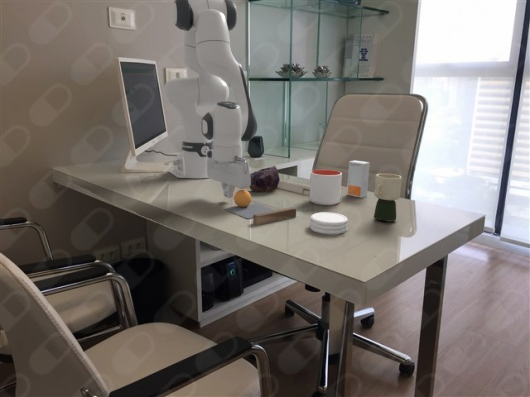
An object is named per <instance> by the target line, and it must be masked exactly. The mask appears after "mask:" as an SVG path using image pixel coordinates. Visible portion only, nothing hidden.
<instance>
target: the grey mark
mask: <svg viewBox="0 0 530 397" xmlns="http://www.w3.org/2000/svg"><path fill="white" fill-rule="evenodd" d="M225 209H226V210H225V211H227V210H228V211H227V212H229V211H230V212H229V213H232V214H234V215H236V214H237V216H238V217H241V216H242V217H241V218H244V217H245V218H244V219H246V218H247V220H249V219H250V220H251V219H253V215H254V214H259V213H264V212H269V211H274V210H275V209H273V208H270V207H268V206H264V205H263V204H260V203H256V202H254V203H250V204H249V205H248V206H246V207H239V206H232V207H228V208H225Z"/></svg>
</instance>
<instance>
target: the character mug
mask: <svg viewBox="0 0 530 397" xmlns="http://www.w3.org/2000/svg"><path fill="white" fill-rule="evenodd" d="M402 181H403V180H402V175H399V174H394V173H377V174H375V179H374V185H375V186H374V187H375V188H374V192H373V194H374V197H375V198H377V201H376V204H375V209H374V213H373V219H376V220H380V222H384V221H387V222H394V221H396V220H397V202H396V201H397V200H399V199H400V198H401V190H402V189H401V188H402Z"/></svg>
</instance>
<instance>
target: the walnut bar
mask: <svg viewBox="0 0 530 397" xmlns="http://www.w3.org/2000/svg"><path fill="white" fill-rule="evenodd" d="M296 217H297V208H296V207H294V206H289V207H284V208H279V209H274V211H269V212H264V213H259V214H254V215H253V218H252V219H253V220H252V223H253V225H256V226H260V225H259V224H261V225H264V223H265V224H270V223H273V222H274V223H275V222H278V221H282V220H287V219H291V218H296ZM269 222H270V223H269Z"/></svg>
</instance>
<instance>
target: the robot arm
mask: <svg viewBox="0 0 530 397" xmlns="http://www.w3.org/2000/svg"><path fill="white" fill-rule="evenodd" d="M171 14H172V15H171V16H172V20H173V22H174V25H175V26H176V27H177V29H179V30H182V31H184V35H183V57H182V58H183V63H184V65H185V66H186V68H188V69H189V70H190V71H193V72H194V73H196V74H198V77H177V78H171V79H168V80H167V81H166V83H165V84H164V86H163V93H162V94H163V97H164V99H165V101H166V102H167V104H169V106H171V107H172V108H174V110H176V112H177V113H178V115H179V116H180V119H181V122H182V127H183V129H182V130H183V141H182V142H181V151H180V152H179V153H178V154H177V156H176V157H175V158H174V159H173V161H172V164H173V166H174V168H170V169H168V173H170V174H172V175H173V176H175V177H176V178H179V179H208V178H209V179H211V180H213V181H216V182H219V183H221V184H220V185H221V189H222V190H223V191H222V192H223V197H226V198H228V199H232V198H234V192H235V189H236V188H237V189H240V190H245V189H250V185H251V177H250V174H251V170H250V165H249V162H248V161H247V159H246V158H244V157H243V142H249V141H250V140H251V139H253V138H254V136H256V134H257V132H258V123H257V119H256V116H255V113H254V110H253V106H252V102H251V98H250V94H249V90H248V85H247V80H246V76H245V72H244V68H243V67H242V64H241V63H239V61H237V60H236V58H235V57H234V55H233V53H232V48H231V40H230V31H233V29H234V28H235V27H236V24H237V21H238V11H237V5H236V4H235V2H234V0H174V2H173V5H172V8H171ZM227 83H228V84H229V85H230V87H231V88H232V92H233V96H234V100H235V102H234V101H228V100H229V97H230V88H229V86H228V84H227ZM197 107H201V108H202V107H207V108H208V107H209V108H210V107H212V108H213V107H214V109H213V110H212V111H209V112H206V113H205V114H204V115H201V114H199V113H198V112H197V109H196V108H197ZM213 141H214V143H213Z"/></svg>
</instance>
